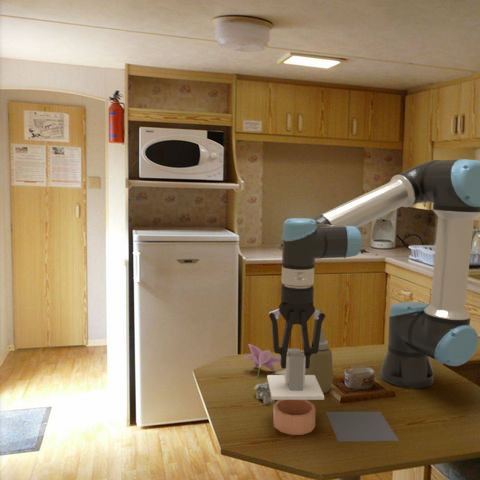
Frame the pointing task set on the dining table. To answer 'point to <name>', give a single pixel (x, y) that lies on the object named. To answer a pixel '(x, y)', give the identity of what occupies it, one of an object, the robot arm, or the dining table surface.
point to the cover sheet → (294, 395)
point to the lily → (262, 358)
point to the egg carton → (263, 393)
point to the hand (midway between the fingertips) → (294, 380)
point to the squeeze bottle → (322, 365)
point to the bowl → (294, 416)
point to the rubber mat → (360, 426)
